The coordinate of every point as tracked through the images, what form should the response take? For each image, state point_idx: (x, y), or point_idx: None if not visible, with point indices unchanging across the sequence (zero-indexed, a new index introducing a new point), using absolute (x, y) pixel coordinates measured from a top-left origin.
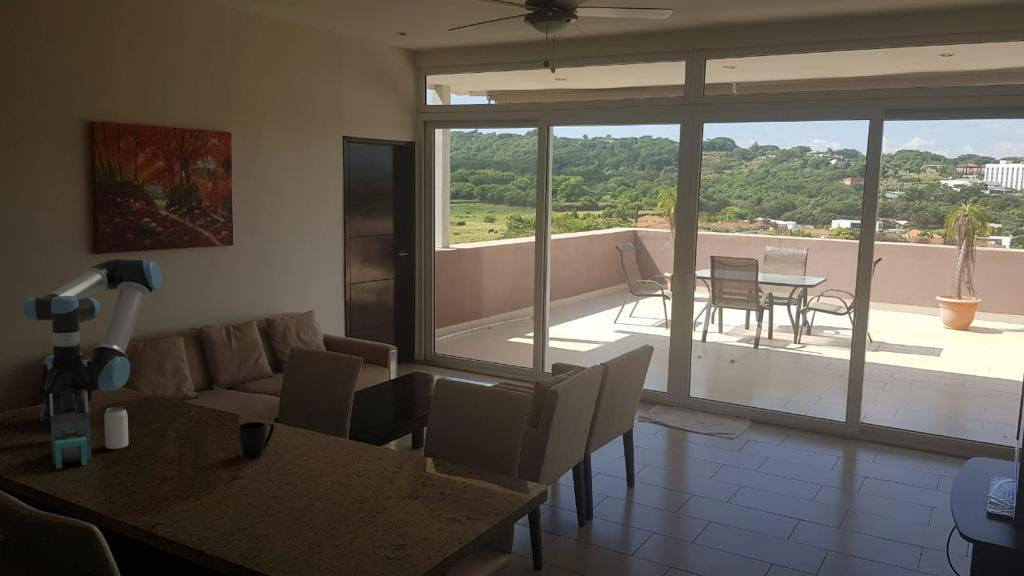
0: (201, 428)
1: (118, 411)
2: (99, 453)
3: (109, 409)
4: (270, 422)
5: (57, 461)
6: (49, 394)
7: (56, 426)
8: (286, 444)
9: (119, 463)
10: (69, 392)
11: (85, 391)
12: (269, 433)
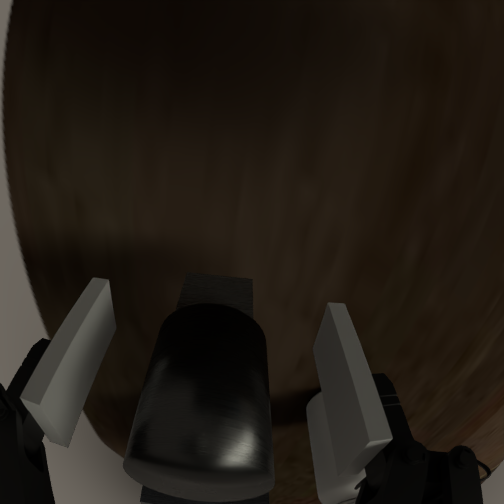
0: None
1: None
2: (278, 425)
3: (348, 497)
4: (488, 477)
5: None
6: (41, 441)
7: None
8: (500, 431)
9: (294, 465)
10: (206, 489)
11: (363, 457)
12: (481, 466)
